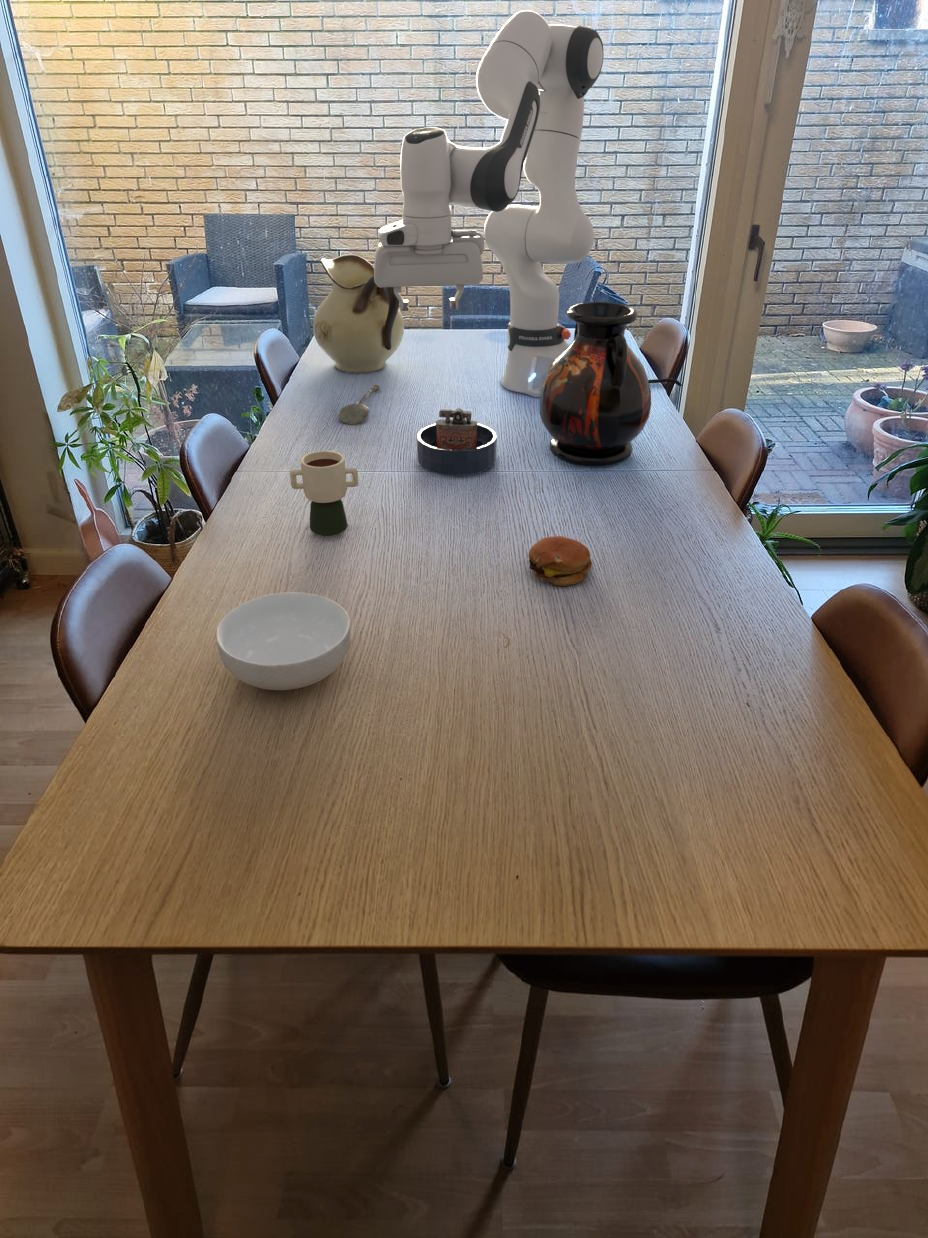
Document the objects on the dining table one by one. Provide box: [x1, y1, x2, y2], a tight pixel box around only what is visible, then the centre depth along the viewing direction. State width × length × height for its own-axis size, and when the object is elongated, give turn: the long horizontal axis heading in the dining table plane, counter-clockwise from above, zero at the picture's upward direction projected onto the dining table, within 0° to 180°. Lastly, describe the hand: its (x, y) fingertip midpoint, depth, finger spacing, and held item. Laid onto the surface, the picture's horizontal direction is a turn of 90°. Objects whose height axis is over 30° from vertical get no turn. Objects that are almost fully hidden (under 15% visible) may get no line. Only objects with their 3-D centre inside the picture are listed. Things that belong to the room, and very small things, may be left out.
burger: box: [527, 535, 593, 587], centre depth 136 cm, size 10×9×5 cm
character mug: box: [289, 450, 359, 537], centre depth 145 cm, size 11×7×13 cm, turn 95°
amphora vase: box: [539, 301, 652, 468], centre depth 169 cm, size 22×22×28 cm
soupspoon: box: [338, 383, 381, 425], centre depth 198 cm, size 22×3×7 cm
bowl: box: [416, 423, 498, 476], centre depth 171 cm, size 15×15×6 cm
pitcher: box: [312, 253, 405, 374], centre depth 217 cm, size 22×24×25 cm
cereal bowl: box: [215, 591, 352, 691], centre depth 114 cm, size 17×17×7 cm
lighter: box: [435, 407, 479, 450], centre depth 170 cm, size 8×3×10 cm, turn 84°
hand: (429, 309), depth 167 cm, fingers open, 8 cm apart
